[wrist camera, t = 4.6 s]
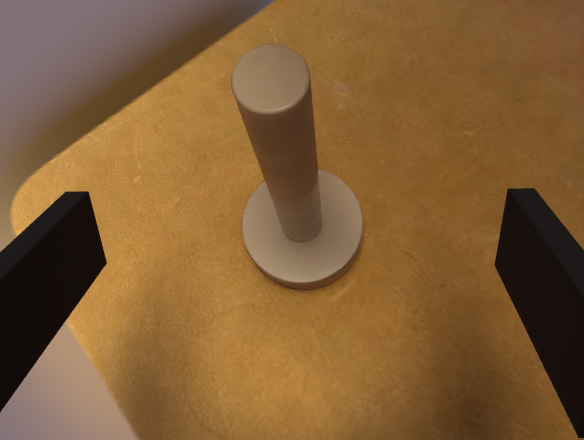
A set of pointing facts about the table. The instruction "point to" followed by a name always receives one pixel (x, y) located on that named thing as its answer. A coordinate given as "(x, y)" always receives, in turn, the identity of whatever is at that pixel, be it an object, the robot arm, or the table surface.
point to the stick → (292, 177)
